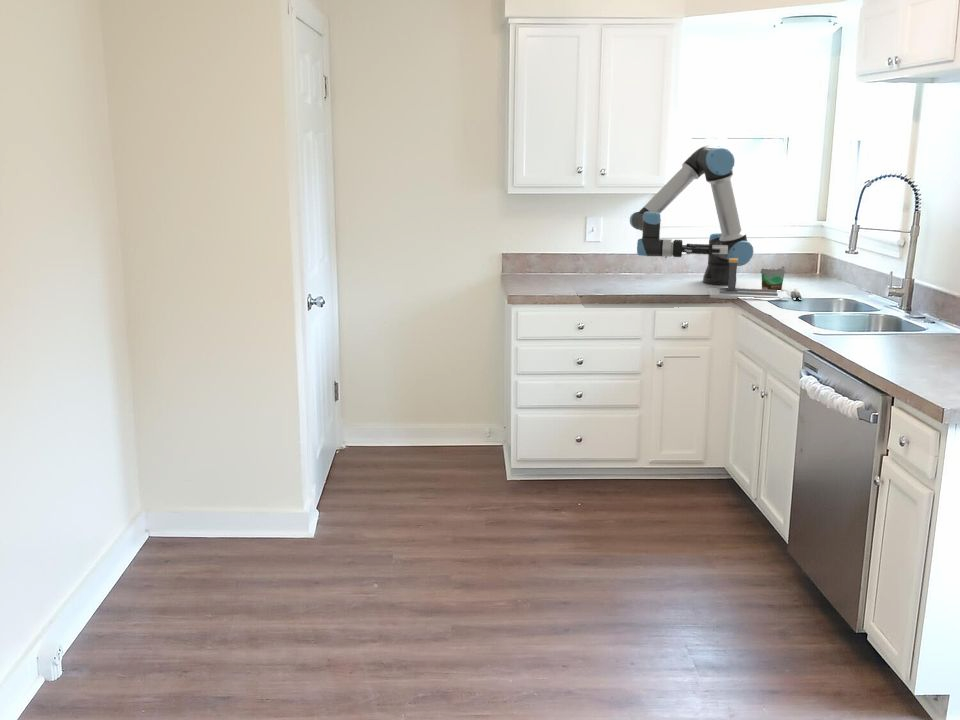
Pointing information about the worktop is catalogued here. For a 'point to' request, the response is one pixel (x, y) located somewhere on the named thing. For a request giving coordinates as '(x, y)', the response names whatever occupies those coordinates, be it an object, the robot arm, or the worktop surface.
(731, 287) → the lever
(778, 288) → the food container
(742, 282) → the worktop surface
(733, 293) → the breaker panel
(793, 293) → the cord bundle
